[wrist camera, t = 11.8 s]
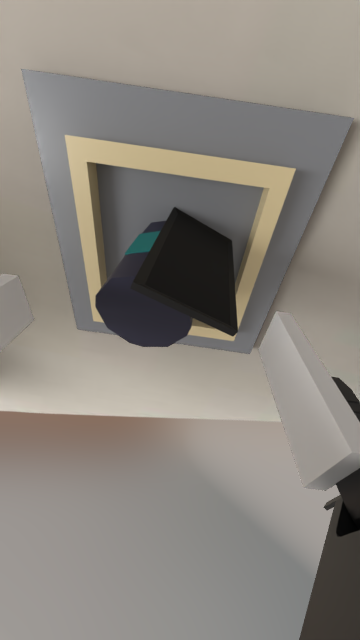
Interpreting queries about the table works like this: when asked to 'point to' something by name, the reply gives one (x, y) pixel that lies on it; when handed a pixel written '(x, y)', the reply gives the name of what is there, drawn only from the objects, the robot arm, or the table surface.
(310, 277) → the table surface
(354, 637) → the robot arm
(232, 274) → the speaker
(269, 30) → the table surface
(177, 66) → the table surface
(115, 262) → the mount board
